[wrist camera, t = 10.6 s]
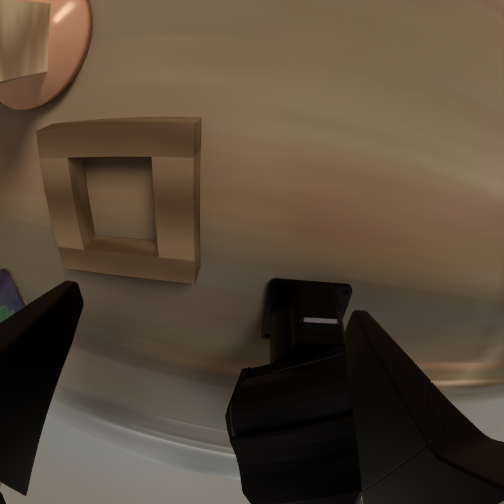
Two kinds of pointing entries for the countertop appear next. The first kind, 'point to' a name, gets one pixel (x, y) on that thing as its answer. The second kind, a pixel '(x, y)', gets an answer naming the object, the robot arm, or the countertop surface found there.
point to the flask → (9, 295)
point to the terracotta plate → (55, 56)
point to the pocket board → (164, 189)
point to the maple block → (23, 39)
